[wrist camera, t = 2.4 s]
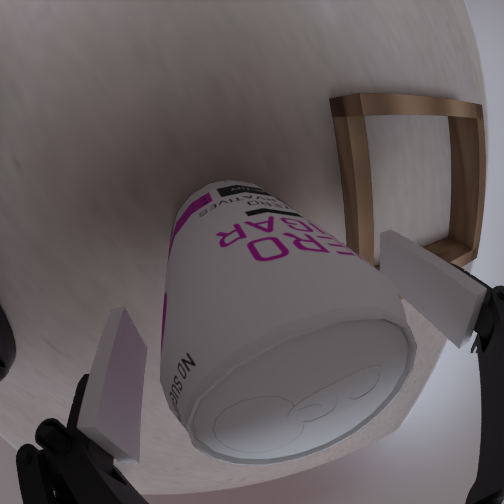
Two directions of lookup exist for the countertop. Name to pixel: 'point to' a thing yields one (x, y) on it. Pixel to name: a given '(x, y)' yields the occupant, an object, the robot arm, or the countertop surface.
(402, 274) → the robot arm
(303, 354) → the supplement can
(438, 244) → the dock bay
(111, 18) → the countertop surface
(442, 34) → the countertop surface
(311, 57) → the countertop surface
